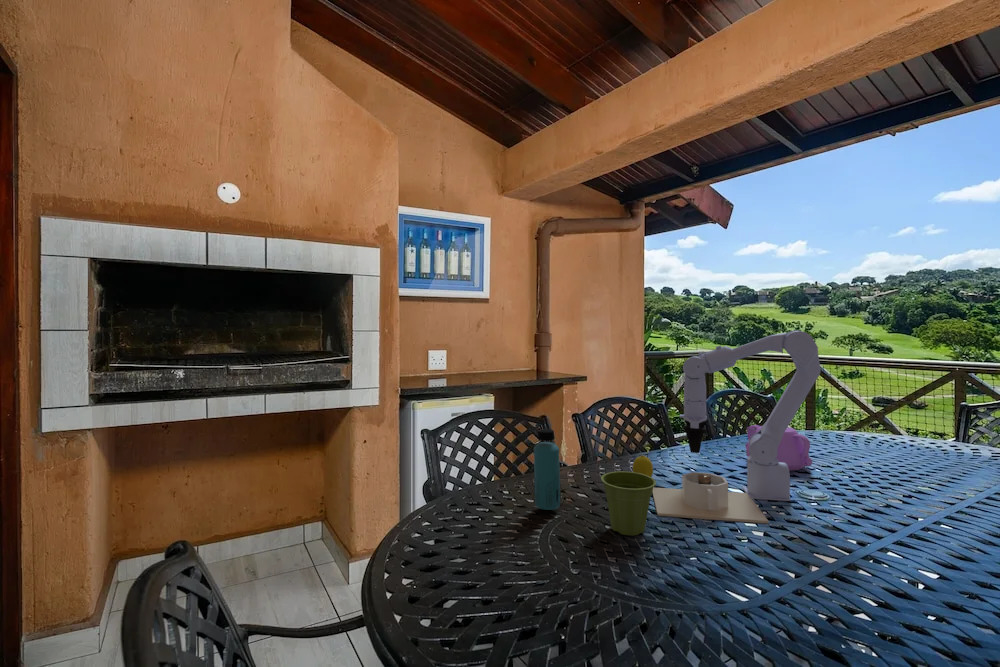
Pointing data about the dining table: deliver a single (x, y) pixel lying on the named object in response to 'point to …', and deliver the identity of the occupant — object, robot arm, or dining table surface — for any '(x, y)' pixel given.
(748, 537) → the dining table surface
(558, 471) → the beverage bottle
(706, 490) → the press stand
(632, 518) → the plant pot
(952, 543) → the dining table surface
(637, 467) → the lemon
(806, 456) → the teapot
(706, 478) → the lid
